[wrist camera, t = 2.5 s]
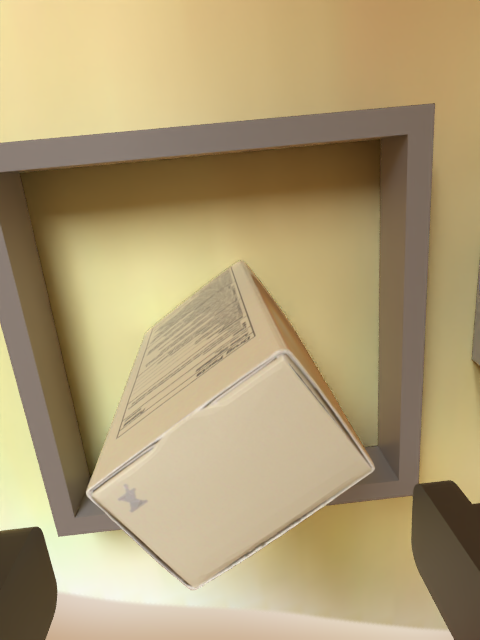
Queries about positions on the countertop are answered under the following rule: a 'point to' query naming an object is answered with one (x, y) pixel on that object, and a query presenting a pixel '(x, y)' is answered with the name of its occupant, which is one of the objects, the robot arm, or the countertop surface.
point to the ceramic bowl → (477, 327)
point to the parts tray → (209, 139)
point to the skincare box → (223, 434)
